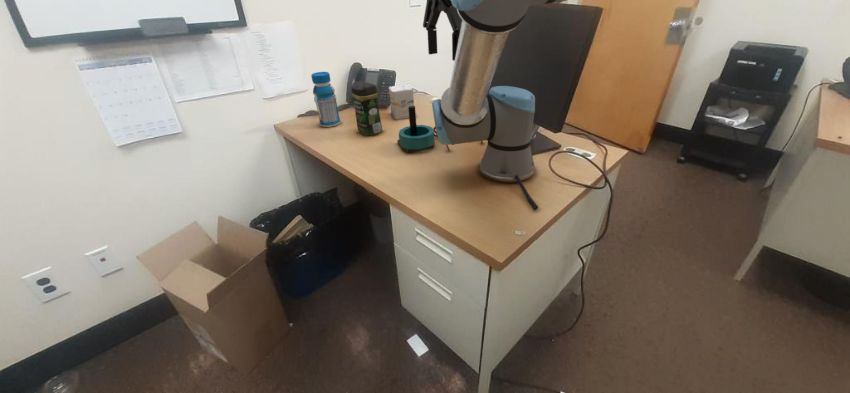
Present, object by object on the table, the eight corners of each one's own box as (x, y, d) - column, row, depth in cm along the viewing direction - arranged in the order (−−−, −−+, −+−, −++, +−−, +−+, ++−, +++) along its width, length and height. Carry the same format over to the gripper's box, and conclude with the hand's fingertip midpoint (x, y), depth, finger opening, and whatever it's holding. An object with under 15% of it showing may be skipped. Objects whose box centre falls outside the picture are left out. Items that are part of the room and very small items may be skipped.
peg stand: (432, 147, 117) (430, 107, 110) (408, 153, 114) (404, 113, 107) (420, 138, 124) (418, 100, 117) (397, 143, 121) (393, 105, 114)
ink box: (390, 113, 149) (387, 86, 142) (409, 111, 151) (407, 83, 144) (395, 120, 142) (392, 91, 135) (415, 117, 144) (413, 88, 137)
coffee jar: (354, 131, 133) (346, 82, 123) (372, 126, 137) (365, 77, 128) (367, 138, 127) (359, 86, 117) (385, 132, 131) (379, 82, 121)
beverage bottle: (330, 128, 137) (319, 76, 127) (315, 125, 141) (303, 75, 131) (345, 122, 143) (336, 71, 133) (330, 119, 147) (320, 70, 136)
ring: (440, 144, 115) (440, 133, 113) (408, 152, 111) (407, 140, 109) (425, 133, 124) (424, 122, 122) (395, 140, 120) (393, 129, 118)
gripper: (482, -34, 83) (480, 60, 94) (431, -28, 102) (434, 50, 113) (456, -32, 80) (457, 64, 91) (408, -27, 99) (413, 53, 110)
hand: (444, 56), depth 102 cm, fingers open, 13 cm apart
